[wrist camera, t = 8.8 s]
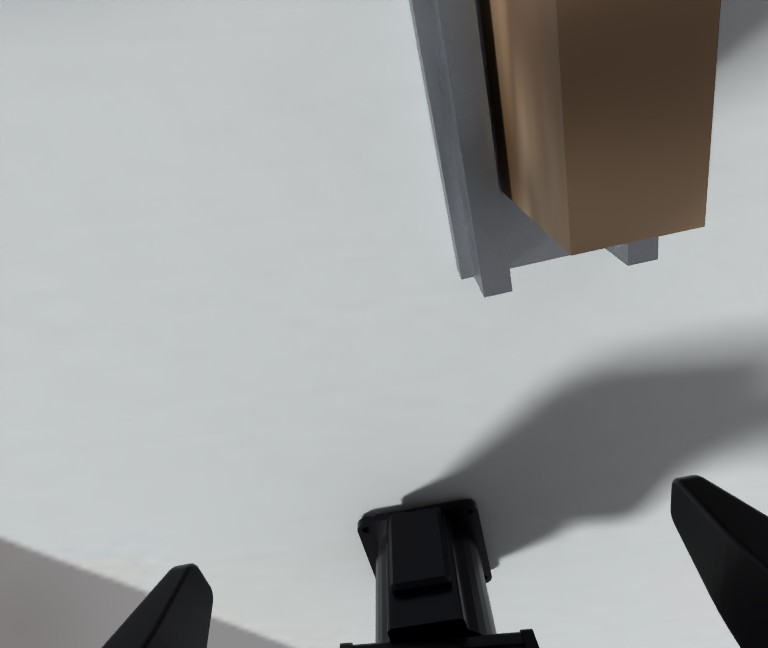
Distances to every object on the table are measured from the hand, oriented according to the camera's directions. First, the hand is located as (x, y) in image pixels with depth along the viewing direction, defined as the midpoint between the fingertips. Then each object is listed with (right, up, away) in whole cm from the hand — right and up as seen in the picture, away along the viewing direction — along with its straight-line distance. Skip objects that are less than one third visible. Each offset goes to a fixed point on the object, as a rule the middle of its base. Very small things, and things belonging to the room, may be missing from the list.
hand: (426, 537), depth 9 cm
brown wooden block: (+4, +12, +7) cm, 15 cm away
